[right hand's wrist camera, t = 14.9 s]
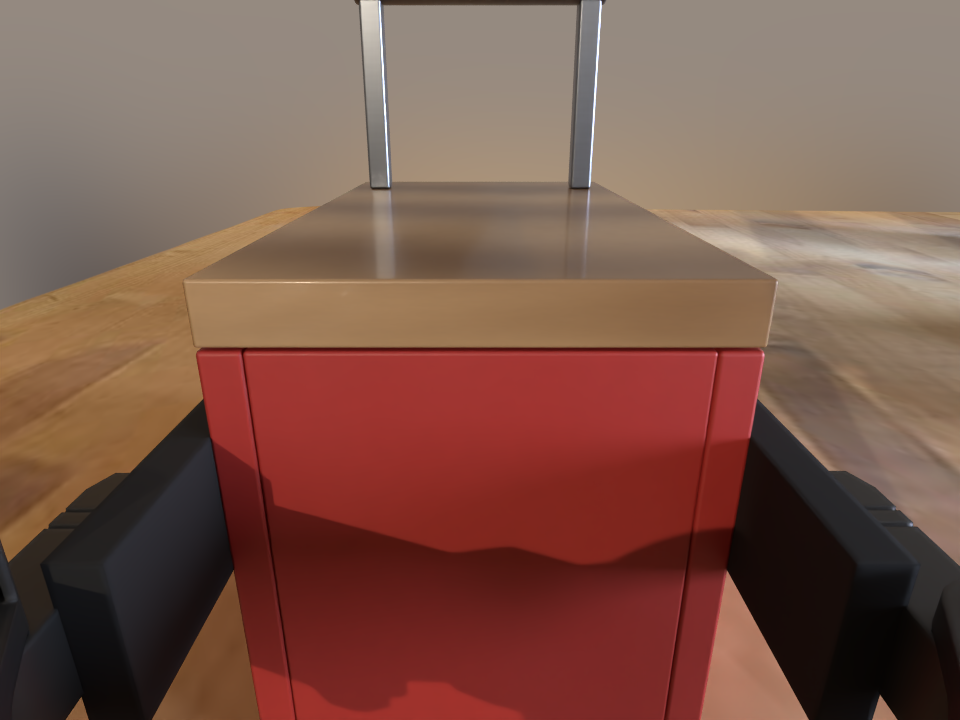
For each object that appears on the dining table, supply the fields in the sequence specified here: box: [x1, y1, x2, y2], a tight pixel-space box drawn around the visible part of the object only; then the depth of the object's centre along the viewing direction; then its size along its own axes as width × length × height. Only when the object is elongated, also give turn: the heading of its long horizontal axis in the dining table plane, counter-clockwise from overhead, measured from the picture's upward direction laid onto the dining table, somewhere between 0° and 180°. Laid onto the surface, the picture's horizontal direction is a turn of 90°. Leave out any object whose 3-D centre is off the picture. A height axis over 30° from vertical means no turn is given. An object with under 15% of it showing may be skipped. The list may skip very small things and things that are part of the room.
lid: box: [183, 0, 778, 348], centre depth 16 cm, size 16×9×9 cm, turn 0°
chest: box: [196, 348, 765, 720], centre depth 19 cm, size 16×9×9 cm, turn 0°
